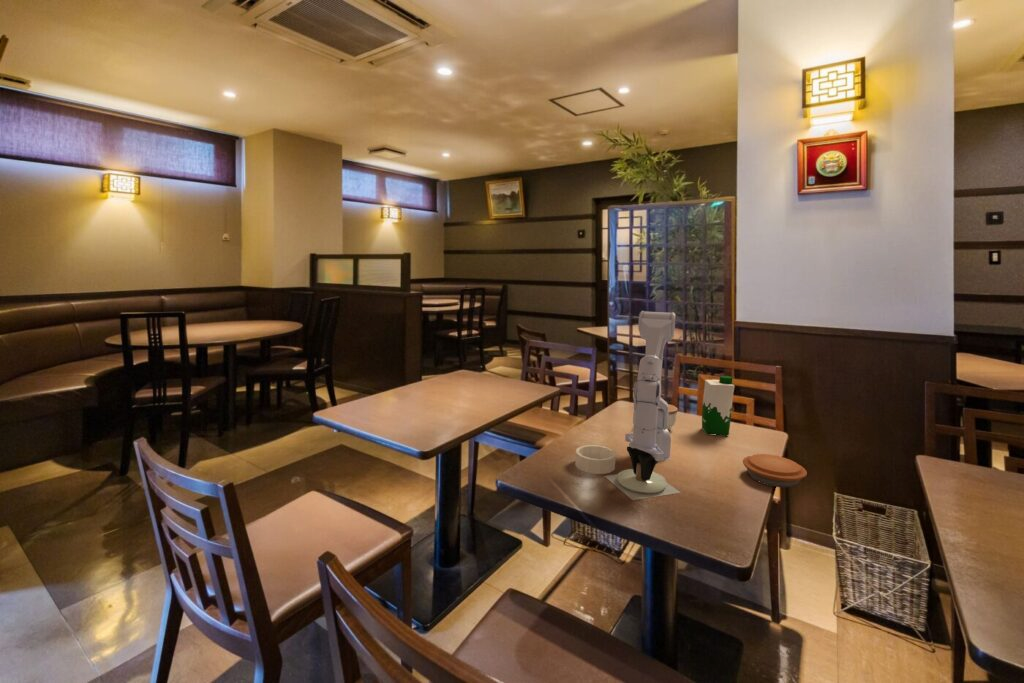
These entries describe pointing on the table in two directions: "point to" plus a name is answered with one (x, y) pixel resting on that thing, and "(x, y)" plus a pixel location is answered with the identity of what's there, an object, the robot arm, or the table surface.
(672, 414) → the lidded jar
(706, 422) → the milk carton
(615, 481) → the mat
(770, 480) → the pie
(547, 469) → the table surface
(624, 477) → the lid
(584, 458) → the bowl
